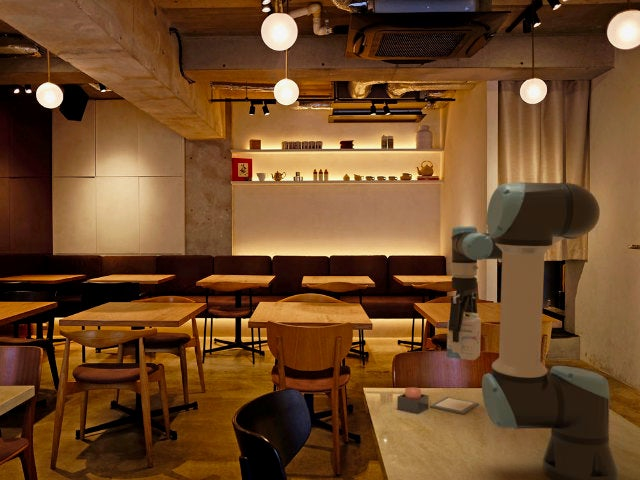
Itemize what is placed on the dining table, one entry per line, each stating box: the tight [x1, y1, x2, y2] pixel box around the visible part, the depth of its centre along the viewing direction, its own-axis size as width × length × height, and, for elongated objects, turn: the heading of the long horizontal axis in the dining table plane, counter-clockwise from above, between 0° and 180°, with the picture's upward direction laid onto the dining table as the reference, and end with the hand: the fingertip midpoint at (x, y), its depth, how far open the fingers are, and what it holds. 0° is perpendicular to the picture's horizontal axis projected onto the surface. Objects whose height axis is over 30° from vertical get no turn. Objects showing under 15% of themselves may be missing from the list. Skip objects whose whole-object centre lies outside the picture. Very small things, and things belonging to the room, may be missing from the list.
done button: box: [404, 386, 422, 400], centre depth 166 cm, size 5×5×4 cm
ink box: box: [446, 312, 482, 361], centre depth 165 cm, size 9×8×13 cm
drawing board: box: [429, 396, 480, 416], centre depth 169 cm, size 12×11×1 cm
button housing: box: [396, 392, 430, 415], centre depth 166 cm, size 7×7×4 cm
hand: (463, 349), depth 165 cm, fingers closed on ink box, 9 cm apart
